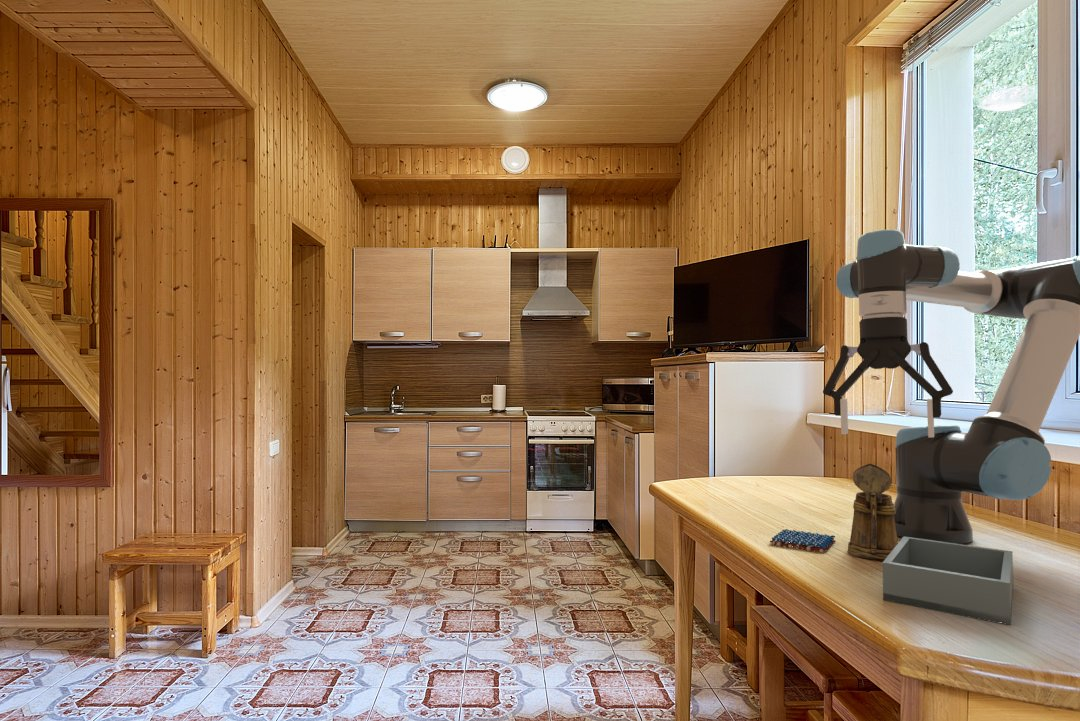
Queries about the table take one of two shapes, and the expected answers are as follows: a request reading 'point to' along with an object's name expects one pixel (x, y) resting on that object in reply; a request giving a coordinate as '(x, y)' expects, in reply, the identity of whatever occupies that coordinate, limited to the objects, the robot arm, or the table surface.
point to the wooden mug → (872, 515)
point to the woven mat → (803, 540)
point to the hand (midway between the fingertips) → (886, 435)
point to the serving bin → (950, 578)
